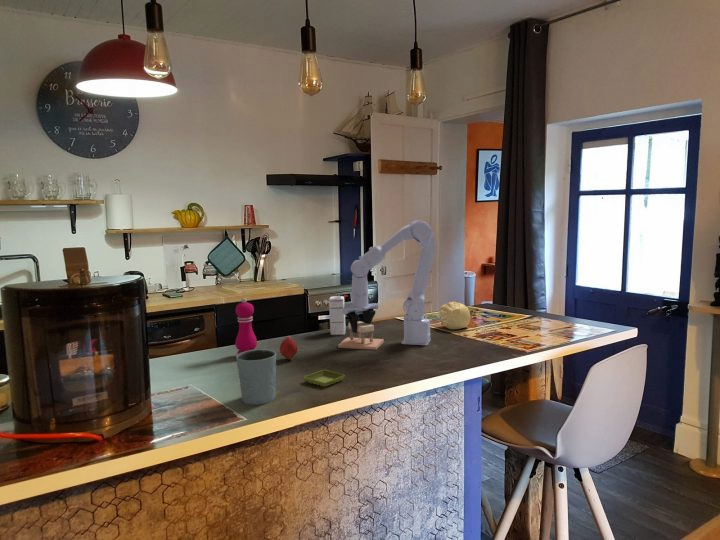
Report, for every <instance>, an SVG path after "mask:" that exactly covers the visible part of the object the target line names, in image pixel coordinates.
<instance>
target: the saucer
mask: <svg viewBox="0 0 720 540" xmlns="http://www.w3.org/2000/svg"><path fill="white" fill-rule="evenodd" d="M345 377H346V375H345V374H343V373H340V372H335V371H331V370H327V369H321V370H318V371H315V372H313V373H310V374H307V375H304V376H303V379H304V380H305V381H306V382H307V383H309V384H312V383H313V384H312V385H315V384H316V385H315V386H319V385H320V387H323V386H324V387H323V388H326V386H327V387H329V386H331V384H332V385H333V384H336V382H337V383H339V382H341V381H342V380H343V379H344V378H345Z"/></svg>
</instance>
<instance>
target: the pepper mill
mask: <svg viewBox="0 0 720 540" xmlns="http://www.w3.org/2000/svg"><path fill="white" fill-rule="evenodd" d="M247 301H248V299H247V298H246V297H243V298H242V299H241V302H239V303H238V304H237V305H236V307H235V314H236V315H237V322H238V325H239V326H238V327H239V328H238V332H237V336H236V338H235V347H236V349H238V350H237V354H236V356H237V355H238V354H240V353H242V352H245V351H249V350H256V347H257V346H258V340H257V336H256V335H255V332H254V330H253V326H252V321H253V320H254V319H253V318H254V316H253V314H254V311H255V309H254V308H255V307H254V305H253V304H252V303H250V302H247Z"/></svg>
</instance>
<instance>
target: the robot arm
mask: <svg viewBox="0 0 720 540" xmlns="http://www.w3.org/2000/svg"><path fill="white" fill-rule="evenodd" d="M433 232H434V231H433V229H432V228H431V226H430V224H429V223H427V222H426V221H424V220H417V219H415V220H413V221H411V222H410V223H409V224H406V225H404V226H403V227H402V228H401V229H399V230H398V231H396V232H395V233H394V234H393V235H392V236H391V237H389V238H388V239H387V240H386V241H385V242H383V244H381V245H379V246H378V245H374V246H370V247H369V248H368V251H367V252H365V253H364V254H362V256H361V255H359V256H358V259H355V260H354V261H353V262H352V263H351V266H350V272H351V273H352V275H351V279H352V280H351V298H352V299H351V301H352V303H351V304H352V305H350V306H346V307H345V308H342V314H345V317H346V318H347V319H348V321H349V322H348V323H350V324H351V328H352V332H353V334H356V333H357V334H358V331H357V327H358V326H357V324H358V321H359V316H360V314H357V312H362V314H363V322H364V323H368V324H371V325H372V322H373V319H374V316H375V315H376V310H379V304H378V303H376V302H375V303H373V302H372V303H369V281H368V274H369V271H370V270H372V269H374V268H375V267H377V265H379V264H380V263H382V262H383V261H384V260H385V259H386V254H387V253H389V252H390V251H391V250H393V249H394V248H395V247H397V246H398V245H399V244H401V243H402V242H403V241H407V240H413V239H414V240H415V241H416V242H417V244H418V245H419V247H420V248H421V250H420V253H419V257H418V261H417V265H416V270H415V272H414V273H415V274H414V277H413V281H412V285H411V289H410V291H409V293H408V294H407V295H408V296H407V299H405V301H404V302H403V305H402V307H403V308H402V309H403V311H404V313H405V314H404V316H403V335H404V336H403V340H402V341H401V345H411V346H412V345H413V346H417V345H418V346H419V345H420V346H428V345H429V344H430V342H431V340H432V339H431V320H430V318H425V316H424V315H425V312H426V309H425V302H426V301H425V293H426V289H427V285H428V281H429V277H430V273H431V271H432V270H431V269H432V265H433V263H434V258H435V253H436V252H437V251H436V249H437V243H436V240H435V236H434V233H433Z"/></svg>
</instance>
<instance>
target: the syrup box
mask: <svg viewBox="0 0 720 540" xmlns="http://www.w3.org/2000/svg"><path fill="white" fill-rule="evenodd" d="M328 303H329V304H328V305H329V307H328V308H329V326H330V327H329V328H330V335H331V336H342V335H343V336H344V335H345V334H346V330H347V329H346V328H347V326H346V314H342V308H345V304H346V303H345V296H344V295H336V296H335V295H334V296H330V297H329V298H328Z"/></svg>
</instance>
